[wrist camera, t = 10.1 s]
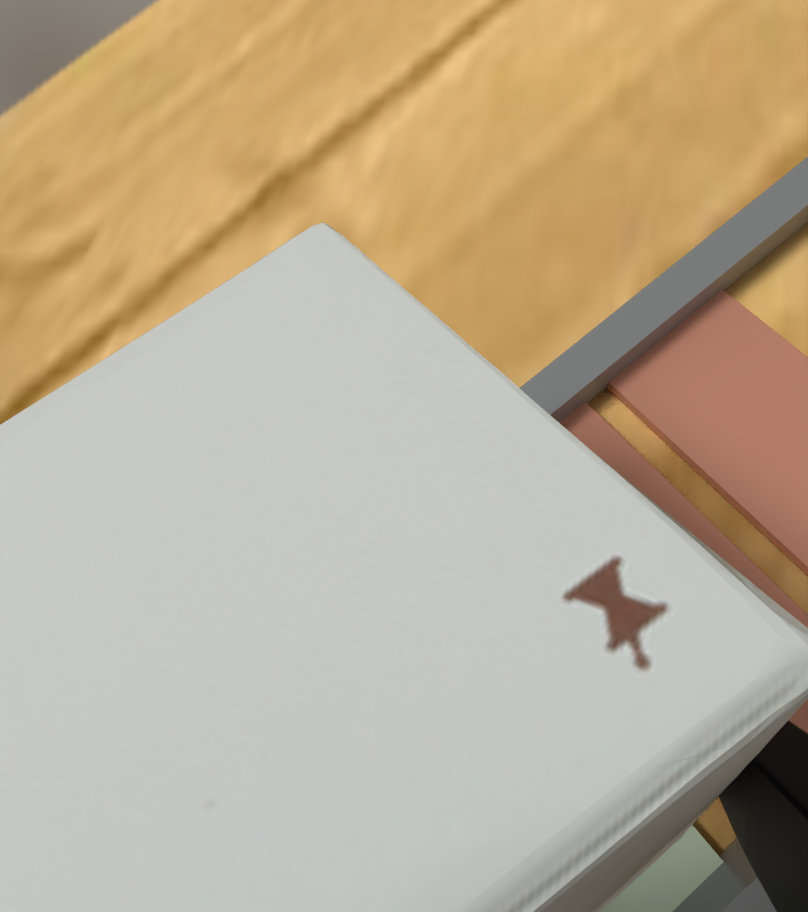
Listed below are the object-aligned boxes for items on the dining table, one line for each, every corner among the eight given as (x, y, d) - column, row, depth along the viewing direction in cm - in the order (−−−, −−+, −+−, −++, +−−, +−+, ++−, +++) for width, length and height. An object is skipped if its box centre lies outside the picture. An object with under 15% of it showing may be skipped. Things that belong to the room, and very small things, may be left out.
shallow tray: (1306, 357, 17) (1405, 320, 16) (439, 1217, 14) (431, 1304, 12) (894, 108, 22) (933, 56, 20) (150, 710, 18) (112, 715, 16)
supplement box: (493, 583, 18) (335, 194, 8) (694, 838, 13) (915, 669, 3) (278, 737, 17) (-196, 518, 7) (413, 1066, 12) (-389, 1728, 3)
